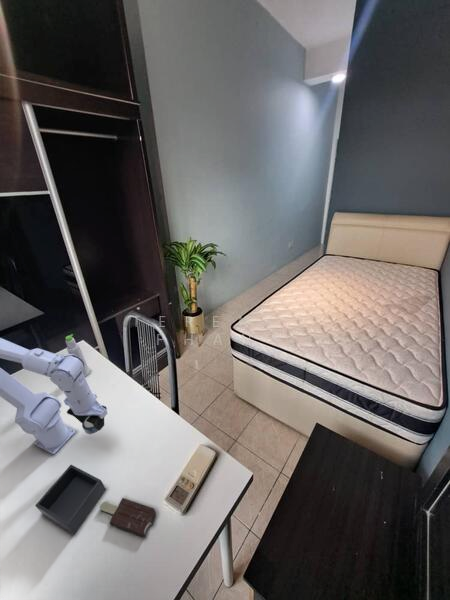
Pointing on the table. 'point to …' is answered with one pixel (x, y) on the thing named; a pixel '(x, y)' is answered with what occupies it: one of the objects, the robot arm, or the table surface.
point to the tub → (71, 498)
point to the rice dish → (88, 427)
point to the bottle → (76, 352)
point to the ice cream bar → (130, 516)
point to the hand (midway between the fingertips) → (93, 424)
